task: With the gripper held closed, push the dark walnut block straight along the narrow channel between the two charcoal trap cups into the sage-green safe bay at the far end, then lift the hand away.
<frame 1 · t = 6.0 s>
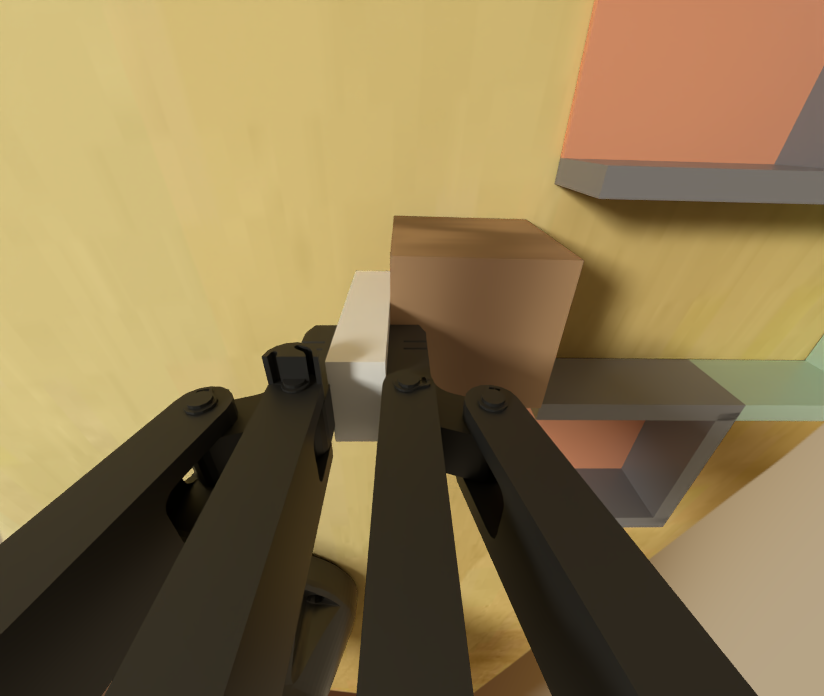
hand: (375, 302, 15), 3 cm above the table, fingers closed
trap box: (630, 284, 18), on the table
walnut block: (454, 280, 17), on the table, touching gripper
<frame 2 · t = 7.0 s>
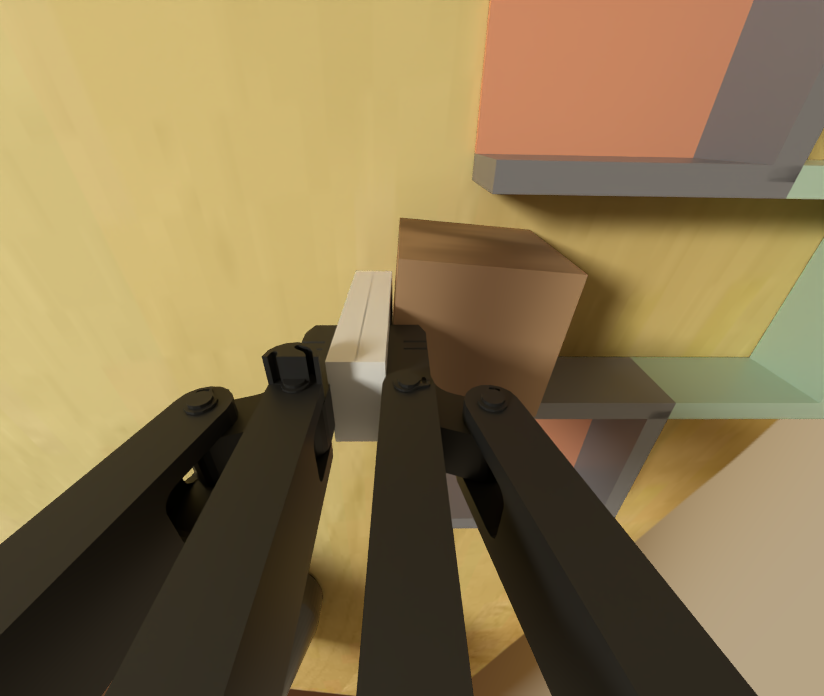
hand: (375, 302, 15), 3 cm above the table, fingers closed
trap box: (562, 281, 17), on the table
walnut block: (455, 285, 18), on the table, touching gripper
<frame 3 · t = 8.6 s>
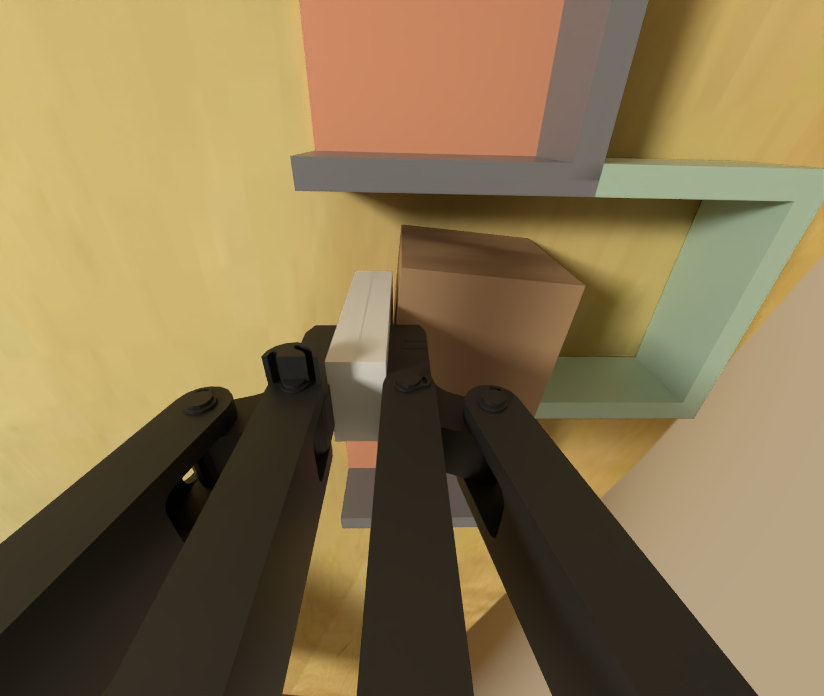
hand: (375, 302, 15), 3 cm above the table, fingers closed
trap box: (431, 279, 17), on the table
walnut block: (454, 291, 18), on the table, touching gripper
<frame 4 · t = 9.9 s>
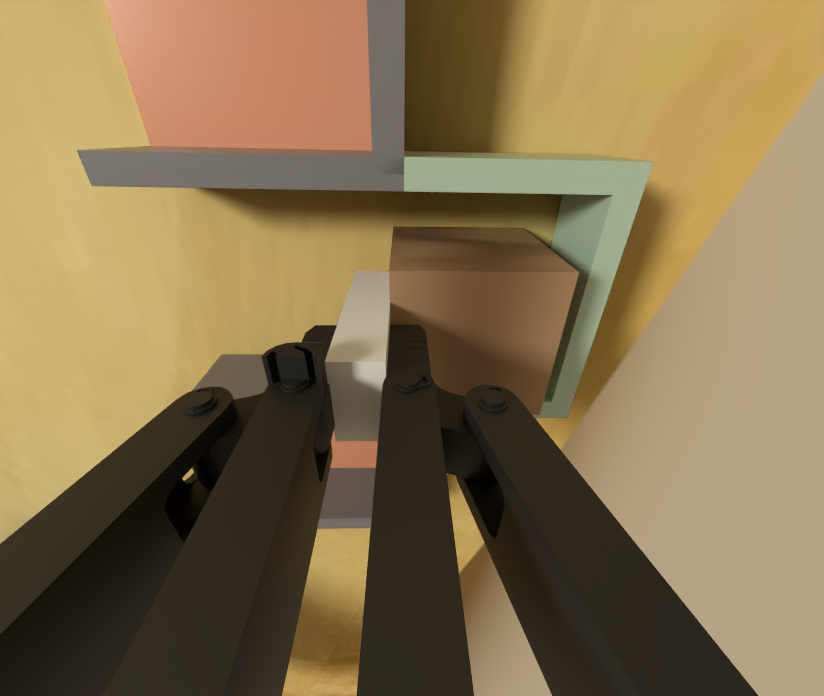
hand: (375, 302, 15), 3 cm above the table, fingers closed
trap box: (300, 277, 17), on the table
walnut block: (453, 288, 18), on the table, touching gripper
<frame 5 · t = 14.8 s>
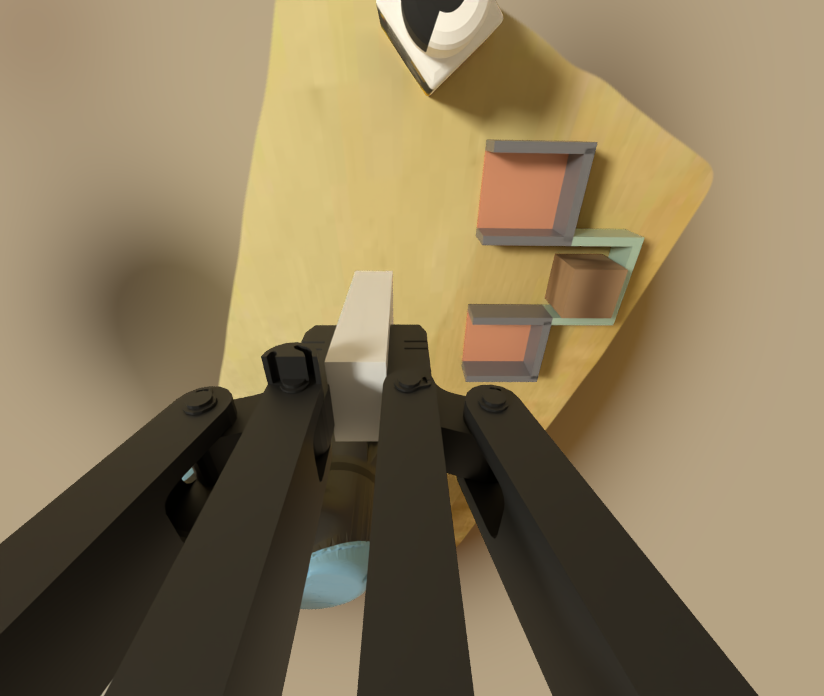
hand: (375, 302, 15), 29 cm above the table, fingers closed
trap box: (510, 272, 45), on the table
medicine bottle: (433, 32, 33), on the table
walnut block: (572, 276, 45), on the table
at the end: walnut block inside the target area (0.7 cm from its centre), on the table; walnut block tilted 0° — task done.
